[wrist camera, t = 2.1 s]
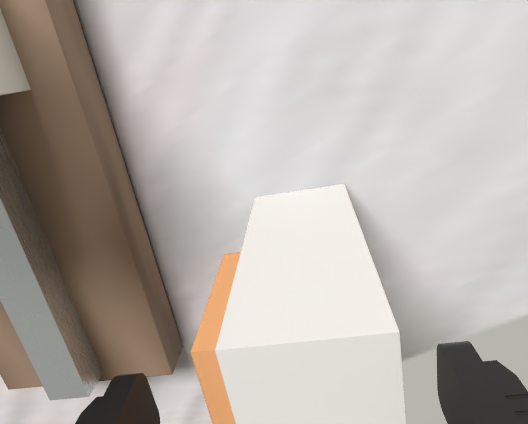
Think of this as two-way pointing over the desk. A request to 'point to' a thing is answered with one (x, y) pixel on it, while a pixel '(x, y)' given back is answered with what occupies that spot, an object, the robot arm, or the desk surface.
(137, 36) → the desk surface
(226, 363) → the white block with pad
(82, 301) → the rail
